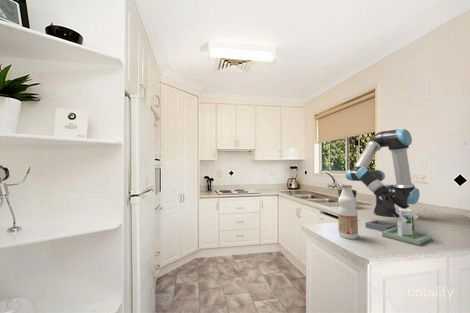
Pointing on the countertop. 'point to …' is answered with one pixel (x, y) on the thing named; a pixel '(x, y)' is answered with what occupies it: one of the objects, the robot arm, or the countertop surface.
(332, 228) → the countertop surface
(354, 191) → the plant pot
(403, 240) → the tray
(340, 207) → the fruit juice
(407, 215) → the syrup box
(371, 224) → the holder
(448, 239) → the countertop surface
